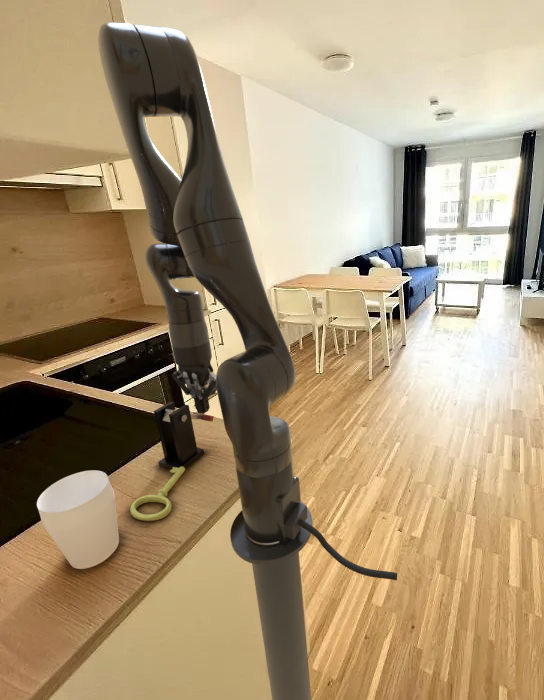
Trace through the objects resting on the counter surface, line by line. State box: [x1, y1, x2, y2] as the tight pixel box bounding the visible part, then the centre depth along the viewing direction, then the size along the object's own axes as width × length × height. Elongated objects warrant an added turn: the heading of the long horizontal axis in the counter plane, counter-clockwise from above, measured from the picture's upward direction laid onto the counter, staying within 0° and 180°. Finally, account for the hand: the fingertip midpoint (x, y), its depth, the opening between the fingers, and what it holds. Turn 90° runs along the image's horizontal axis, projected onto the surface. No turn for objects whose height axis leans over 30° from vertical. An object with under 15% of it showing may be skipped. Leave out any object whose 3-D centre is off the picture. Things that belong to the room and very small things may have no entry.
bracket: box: [153, 401, 205, 471], centre depth 75 cm, size 7×6×13 cm
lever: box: [163, 408, 214, 422], centre depth 78 cm, size 11×5×2 cm
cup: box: [36, 469, 120, 570], centre depth 55 cm, size 9×9×12 cm
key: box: [129, 467, 186, 522], centre depth 67 cm, size 7×12×2 cm, turn 6°
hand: (203, 411), depth 82 cm, fingers closed
